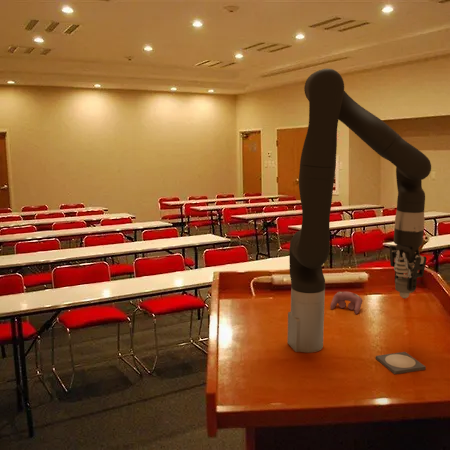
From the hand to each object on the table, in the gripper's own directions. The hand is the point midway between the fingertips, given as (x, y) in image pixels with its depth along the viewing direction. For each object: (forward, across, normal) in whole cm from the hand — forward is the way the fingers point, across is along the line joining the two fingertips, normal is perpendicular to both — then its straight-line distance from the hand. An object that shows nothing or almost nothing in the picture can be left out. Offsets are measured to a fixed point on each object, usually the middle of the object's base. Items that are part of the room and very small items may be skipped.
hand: (404, 286), depth 148 cm
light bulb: (+4, 0, 0) cm, 4 cm away
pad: (+17, +10, -7) cm, 21 cm away
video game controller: (+18, -29, -2) cm, 34 cm away
